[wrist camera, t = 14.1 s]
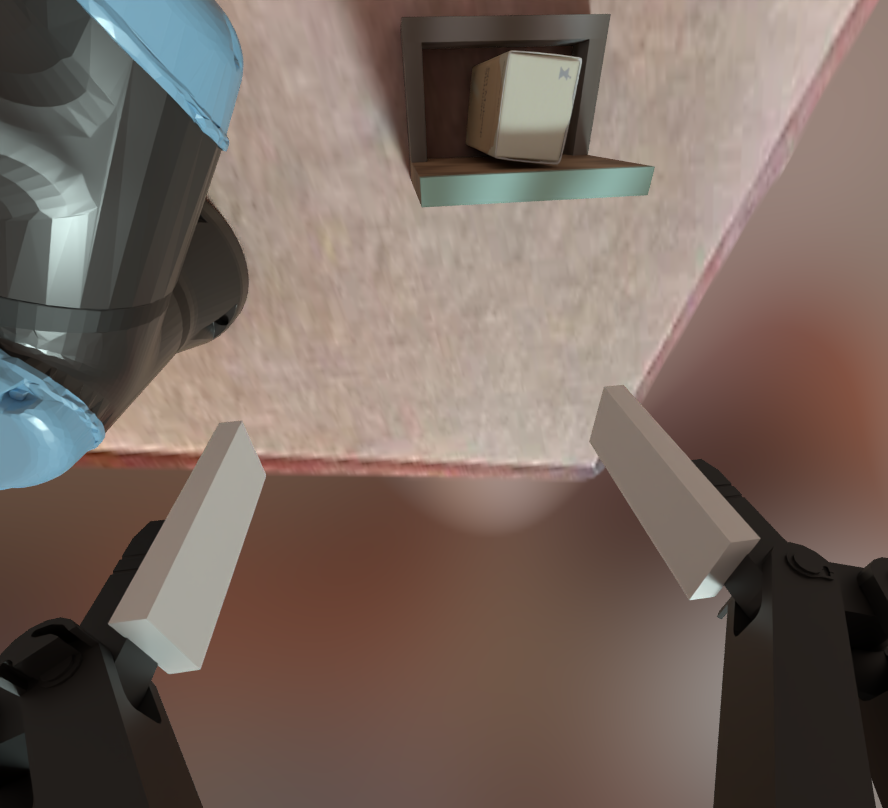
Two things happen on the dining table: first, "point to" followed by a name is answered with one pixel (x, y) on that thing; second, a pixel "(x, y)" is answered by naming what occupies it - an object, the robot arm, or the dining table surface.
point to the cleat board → (506, 177)
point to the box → (522, 105)
